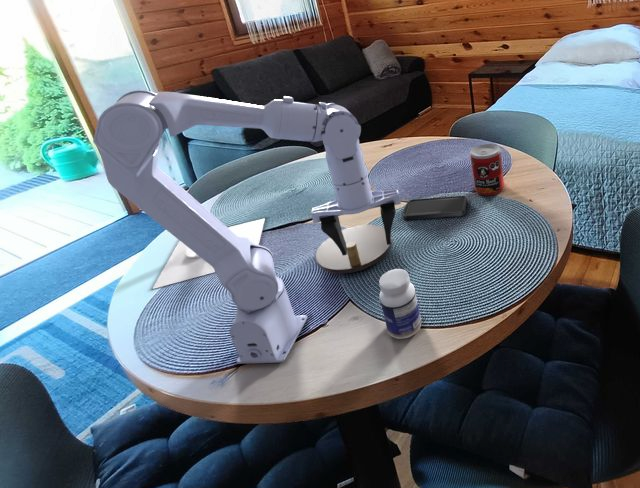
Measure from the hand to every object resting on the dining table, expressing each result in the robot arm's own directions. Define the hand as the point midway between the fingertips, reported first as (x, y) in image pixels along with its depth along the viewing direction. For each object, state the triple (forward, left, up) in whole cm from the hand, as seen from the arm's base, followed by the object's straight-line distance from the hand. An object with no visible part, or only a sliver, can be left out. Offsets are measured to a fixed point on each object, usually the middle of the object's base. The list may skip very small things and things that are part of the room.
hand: (366, 246), depth 76 cm
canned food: (+38, -20, -10) cm, 44 cm away
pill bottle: (-8, -7, -10) cm, 15 cm away
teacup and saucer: (+18, +44, -10) cm, 49 cm away
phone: (+29, -7, -10) cm, 31 cm away
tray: (+13, +8, -9) cm, 18 cm away
